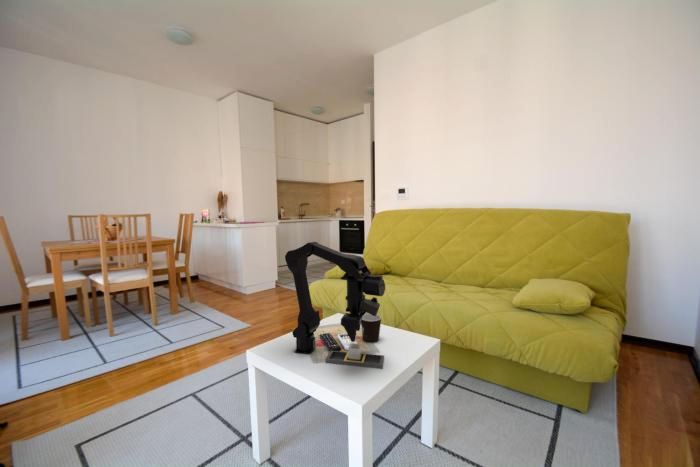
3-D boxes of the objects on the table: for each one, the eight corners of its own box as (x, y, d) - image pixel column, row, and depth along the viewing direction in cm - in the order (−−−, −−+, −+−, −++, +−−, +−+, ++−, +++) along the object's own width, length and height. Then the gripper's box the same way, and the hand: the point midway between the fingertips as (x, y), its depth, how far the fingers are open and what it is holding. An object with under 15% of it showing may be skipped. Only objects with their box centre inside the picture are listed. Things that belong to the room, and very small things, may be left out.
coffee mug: (380, 346, 117) (380, 321, 117) (358, 344, 119) (358, 320, 118) (382, 334, 129) (382, 311, 128) (363, 332, 131) (363, 310, 130)
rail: (325, 364, 104) (325, 358, 104) (330, 355, 110) (330, 350, 110) (382, 370, 100) (382, 364, 100) (384, 360, 106) (384, 355, 106)
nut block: (348, 363, 103) (348, 347, 103) (350, 357, 108) (350, 342, 107) (360, 364, 103) (359, 348, 102) (362, 358, 107) (362, 343, 106)
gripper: (374, 302, 92) (375, 350, 93) (381, 286, 110) (381, 327, 112) (340, 300, 94) (340, 347, 96) (351, 285, 113) (352, 325, 114)
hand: (355, 335), depth 104 cm, fingers open, 9 cm apart
